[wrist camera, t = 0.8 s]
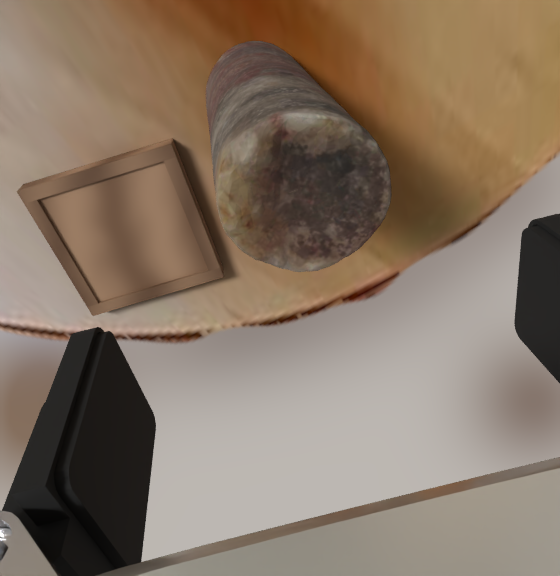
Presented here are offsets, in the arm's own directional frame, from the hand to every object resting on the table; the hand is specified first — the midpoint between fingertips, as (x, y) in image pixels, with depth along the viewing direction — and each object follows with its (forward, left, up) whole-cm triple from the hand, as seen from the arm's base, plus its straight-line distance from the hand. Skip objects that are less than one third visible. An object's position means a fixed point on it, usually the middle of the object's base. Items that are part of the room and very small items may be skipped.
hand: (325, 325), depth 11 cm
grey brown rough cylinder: (-1, +1, -29) cm, 29 cm away
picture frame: (+12, +8, -29) cm, 32 cm away
